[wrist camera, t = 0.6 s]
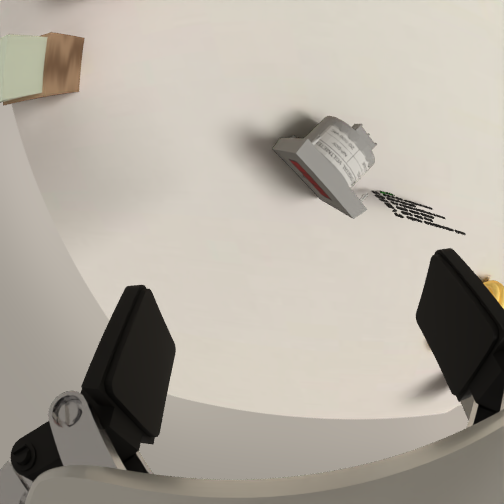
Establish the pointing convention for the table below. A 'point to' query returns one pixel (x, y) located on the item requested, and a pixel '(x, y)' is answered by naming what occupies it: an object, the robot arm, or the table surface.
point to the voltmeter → (339, 166)
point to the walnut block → (59, 66)
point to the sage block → (21, 66)
